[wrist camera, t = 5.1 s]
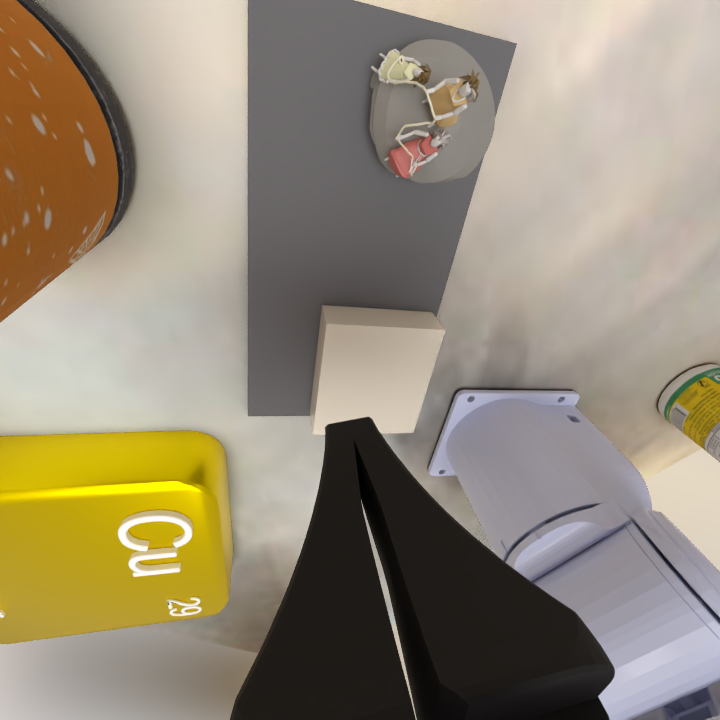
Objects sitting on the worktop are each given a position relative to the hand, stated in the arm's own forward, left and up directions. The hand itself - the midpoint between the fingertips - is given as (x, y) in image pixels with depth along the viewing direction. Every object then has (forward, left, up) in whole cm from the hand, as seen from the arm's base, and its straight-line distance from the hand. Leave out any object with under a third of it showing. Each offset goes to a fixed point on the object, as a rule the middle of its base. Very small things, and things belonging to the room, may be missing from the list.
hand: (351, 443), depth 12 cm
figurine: (-3, -9, -10) cm, 13 cm away
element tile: (+12, +16, -11) cm, 23 cm away
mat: (-2, -2, -10) cm, 10 cm away
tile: (0, +3, -8) cm, 9 cm away
